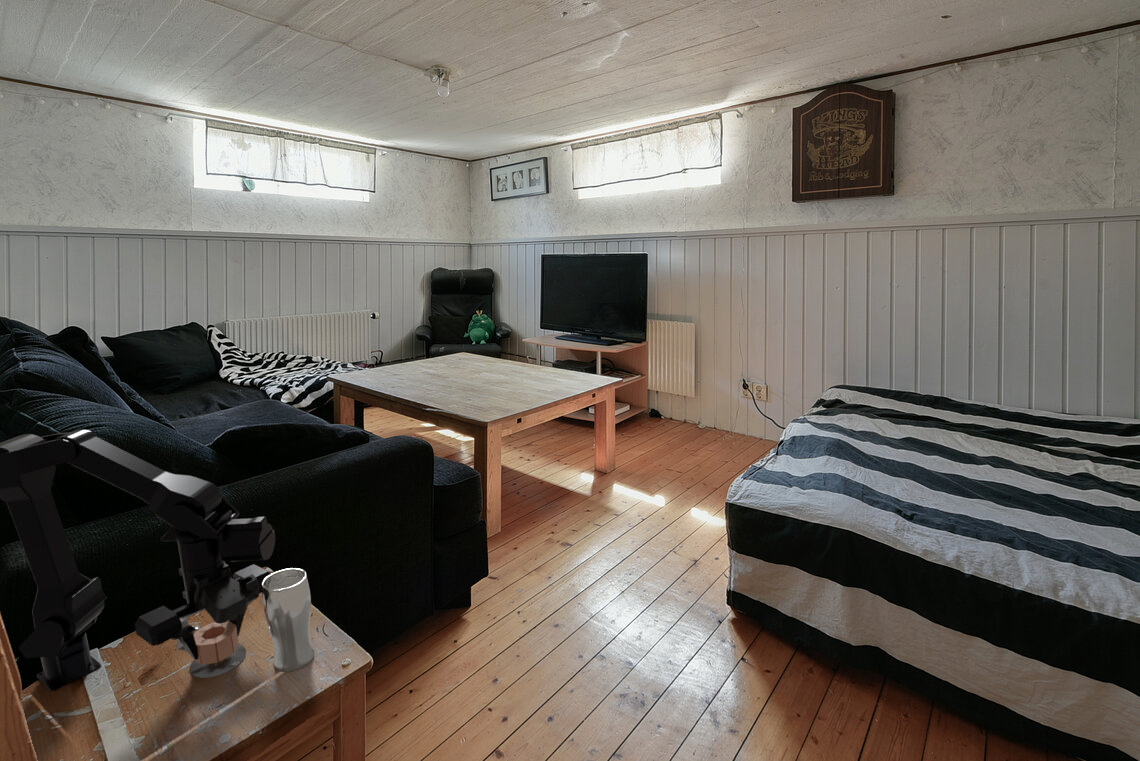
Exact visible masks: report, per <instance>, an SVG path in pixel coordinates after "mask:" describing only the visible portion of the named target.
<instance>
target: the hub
mask: <svg viewBox="0 0 1140 761" xmlns="http://www.w3.org/2000/svg"><path fill="white" fill-rule="evenodd" d="M246 655H247V650H246V648H245V646H244V645H243V644H239V645H238V647H237V649H236V651H235V653H233V654H232V655H231V656H229V657H227V658H225V659H224V660H222V661H220V662H219V661H218V662H217V663H211V664H204V665H202V664H199V663H198V662H196V661H195V660H194V659H192V662H191V663H190V665H189V673H190V674H191V675H192V676H194V677H196V678H199V679H209V678H214V677H218V676H221V675H224V674H226V673H229V672H230V671H232V670H233V669H235V668H236V667H237V666H239V665H240V664H241V663H242V662H243V661H244V659H245V658H246Z"/></svg>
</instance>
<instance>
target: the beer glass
mask: <svg viewBox="0 0 1140 761" xmlns="http://www.w3.org/2000/svg"><path fill="white" fill-rule="evenodd" d="M307 575H308V574H307V572H306V570H304V569H302V568H297V567H294V568H293V567H290V568H284V569H283V568H282V569H281V570H280V569H279V570H277V571H275V572H273V573H272V572H271V574H270V575H269V576H267V577H266V578H265V579H264V580H263V582H262V593H261V596H262V598H261V599H262V609H263V616H264V618H265V623H266V626H267V627H268V631H269V634H270V635H271V640H272V643H273V648H274V654H273V655H274V656H273V666H274V667H275V669H278V670H279V671H280V672H282V673H290V672H291V673H292V672H294V671H298V670H300V669H302V668H304V667H306V666H307V665H308V664H309V663H310V662H311V661H312V660H313V658H314V655H315V652H314V648H313V645H312V643H311V638H310V627H311V626H310V625H311V624H310V623H311V614H312V601H311V600H312V597H311V596H312V595H311V590H310V585H309V581H308V576H307Z"/></svg>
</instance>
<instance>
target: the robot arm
mask: <svg viewBox="0 0 1140 761" xmlns="http://www.w3.org/2000/svg"><path fill="white" fill-rule="evenodd" d="M62 464H69V465H71V466H73V467H75V468H78V469H79V470H81V471H83V472H86V473H88V474H89V475H92V476H94V477H96V478H98V479H100V480H102V481H104V482H106V483H108V484H111V485H112V486H114V487H116V488H119V489H120V490H123V491H124V492H127V493H129V494H130V495H132V496H135V497H137V498H139V499H140V500H142V501H144V502H146V503H147V504H148V505H149V506H150V508H151V510H152V512H153V513H154V515H155V516H157V518H160V519H161V520H162V521H164V522H166V523H167V525H170V527H169V530H167V532H166V533H165V534H164V535H163V536H161V537H160V540H161V541H162V542H177V545H178V548H177V549H178V553H179V559H180V566H181V567H180V568H178V574H179V576H181V577H183V578H182V579H183V584H184V590H183V591H182V592H181V593H182V598H183V599H185V600H186V602H187V603H186V604H184V605H182V606H180V607H177V608H175V609H173V610H171V609H169V608H168V607H166V606H165V605H162V606H159V607H157V608H155V609H153V610H151V611H148V612H146V613H143V614H142V615H140V616H138V617H137V619H136V621H135V623H134V627H135V634H136V635H137V636H138V637H139V638H141V639H143V641H145V642H146V643H148V644H149V645H151V646H152V647H155V646H160V645H161V644H163V643H165V642H167V641H169V640H173V641H176V640H177V641H178V640H179V641H180V642H181V644H182V645H183V646H184V647H185V649H186V650H185V651H187V653H188V654H189V655H190V656H191V658H192V660H194V659H195V660H197V659H198V650H197V646H196V642H195V638H194V634H193V633H194V631H195V628H194V627H193V626H192V625H191V624H190V623H189V619H190V617H192V616H194V615H197V614H199V613H201V612H204V611H206V613H207V614H209V616H210V617H211V618H212V620H213V622H216V623H219V624H221V623H225V622H227V621H230V622H232V623H233V624H235V625H236V629H237V636H238V637H239V636H240V632H241V630H242V629H241V628H242V625H243V623H244V622H243V621H244V617H245V614H246V611H247V610H248V607H249V605H251V603H252V602H254V601H255V600H257V599H258V598H259V596H260V594H262V582H263V580H264V579H265V578H266V577H267V576H269V575H270V574H272V571H269V570H267V569H265V568H263V567H260V566H259V565H256V564H254V563H253V564H251V565H249V566H246V567H245V568H242V569H240V570H238V571H236V572H234V573H233V574H232V571H231V568H230V565H229V564H227V563H226V562H228V563H234V562H235V563H236V562H255V561H268V560H269V559H270V558H271V557H272V554H273V552H274V549H275V545H276V544H275V543H276V532H275V531H276V530H275V529H273V526H272V524H270V522H269V523H268V521H267V517H266V516H255V517H253V518H237V517H239V515H240V513H241V512H240V511H239V510H238V509H237V508H235V506H234V505H233V504H232V503H230V502H229V501H228V499H227V498H225V497H224V496H223V495H222V493H221V489H220V488H219V486H217V485H216V484H215V483H213V482H210V481H208V480H204V479H202V478H198V477H196V476H192V475H187V474H177V473H176V474H175V473H172V472H169V471H165V470H163V469H161V468H160V467H158V466H155V465H154V464H151V463H150V462H148V461H145V460H144V459H142V458H139V457H137V456H135V455H134V454H131V453H129V452H128V451H125V450H123V449H121V448H119V447H117V446H116V445H113V444H112V443H110V442H108V441H106V440H103V439H102V438H99V437H98V436H97V434H96V433H95V432H93V431H91V430H88V429H77V430H73V431H71V432H69V431H68V432H60V433H59V432H58V433H54V434H50V435H44V436H39V435H36V434H33V433H31V434H30V433H25V434H21V435H18V436H15V437H12V438H11V439H10V438H9V439H8V440H4V441H2V442H0V500H1V501H3V502H4V503H6V505H7V508H8V510H9V513H10V515H11V518H12V521H13V523H14V526H15V529H16V532H17V534H18V535H17V536H18V538H19V540H20V543H21V546H22V548H23V551H24V554H25V557H26V559H27V562H28V565H29V568H30V570H31V573H32V576H33V579H34V581H35V584H36V586H37V591H36V595H35V599H34V603H33V607H32V610H31V612H32V618H33V619H32V620H33V625H34V631H33V632H31V633H30V635H29V636H28V637H27V638H25V640H24V641H23V642H22V643H21V644H20V645H19V646H18V650H19V651H20V653H21V654H22V655H23V657H24V658H25V659H36V658H37V659H38V658H40V661H41V666H42V669H43V671H41V672H39V673H37V674H36V678H37V679H38V680H39V681H40V682H41V683H42V684H43V685H44V686H45V687H46V689H48V690H49V691H50V692H54V691H57V690H59V689H60V688H62V687H64V686H67V685H69V684H70V683H73V682H75V681H76V680H78V679H79V680H80V678H83V677H85V676H87V675H88V674H91V673H92V672H94V671H97V670H98V669H100V668H102V664H101V663H100V662H99V661H98V660H96V659H95V658H94V657H93V656H92V655H91V651H90V646H89V642H88V636H87V633H86V632H87V631H86V630H89V628H90V627H91V626H92V625H94V624H95V623H96V622H97V620H98V616H100V614H101V613H102V611H103V609H104V608H105V604H106V603H105V600H106V599H108V596H107V595H106V593H105V592H104V589H103V586H102V581H101V578H99V577H93V578H91V579H90V578H89V577H87V576H85V575H84V574H82V573H80V572H79V569H78V567H77V563H76V560H75V558H74V556H73V552H72V549H71V545H70V543H69V540H68V538H67V535H66V531H65V528H64V526H63V523H62V520H61V517H60V514H59V511H58V508H57V505H56V503H55V500H54V496H53V493H52V490H51V489H52V486H53V481H54V478H55V474H56V469H57V466H56V465H62ZM213 514H217V516H216V517H215V518H214V519H213V520H211V521H210V522H208V521H207V520H209V518H210V517H211V516H212V515H213ZM86 674H87V675H86ZM84 675H85V676H84Z"/></svg>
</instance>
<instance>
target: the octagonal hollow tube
mask: <svg viewBox="0 0 1140 761" xmlns="http://www.w3.org/2000/svg"><path fill="white" fill-rule="evenodd" d="M238 637H239V636H237V629H236V625H235V624H233V623H232V622H230V621H229V620H228V621H227V622H225V623H221V624H219V623H216V622H215V621H212V622H210V623H208V624H205V625H204V626H203V627H202V628H200V629H198V630H197V631H196V632H195V633H194V638H195V642H196V646H197V650H198V659H197V660H195V659H193V660H195V661H196V662H198V663H199V664H202V665H204V664H211V663H217V662H218V661H219V662H220V661H222V660H224V659H225V658H227V657H229V656H231V655H232V654H233V653H235V651H236V649H237V647H238V645H239V638H238Z"/></svg>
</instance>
